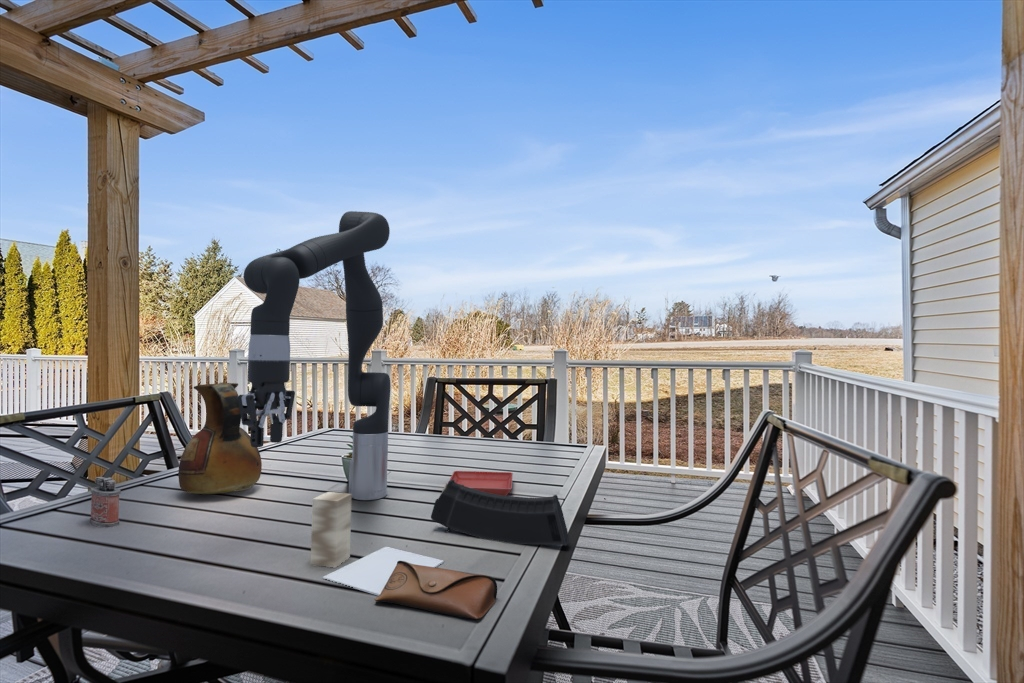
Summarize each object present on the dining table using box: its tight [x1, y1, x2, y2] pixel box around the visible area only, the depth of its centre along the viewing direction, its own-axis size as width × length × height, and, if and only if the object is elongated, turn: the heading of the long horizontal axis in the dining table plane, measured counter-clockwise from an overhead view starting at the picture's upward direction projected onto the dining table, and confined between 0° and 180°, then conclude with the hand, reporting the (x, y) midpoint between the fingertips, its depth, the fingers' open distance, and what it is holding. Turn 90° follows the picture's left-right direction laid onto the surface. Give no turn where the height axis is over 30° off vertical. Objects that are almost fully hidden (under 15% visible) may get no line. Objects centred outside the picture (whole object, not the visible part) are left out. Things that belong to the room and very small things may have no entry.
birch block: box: [310, 491, 352, 569], centre depth 95 cm, size 5×5×12 cm
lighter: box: [89, 476, 121, 529], centre depth 113 cm, size 8×3×10 cm, turn 65°
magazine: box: [430, 479, 570, 546], centre depth 109 cm, size 17×3×30 cm
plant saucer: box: [446, 470, 514, 496], centre depth 148 cm, size 18×18×3 cm
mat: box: [322, 546, 445, 597], centre depth 92 cm, size 14×16×1 cm
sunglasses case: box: [374, 561, 498, 620], centre depth 81 cm, size 18×7×7 cm
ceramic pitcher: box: [177, 381, 263, 495], centre depth 139 cm, size 20×20×30 cm
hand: (266, 444), depth 101 cm, fingers open, 5 cm apart
